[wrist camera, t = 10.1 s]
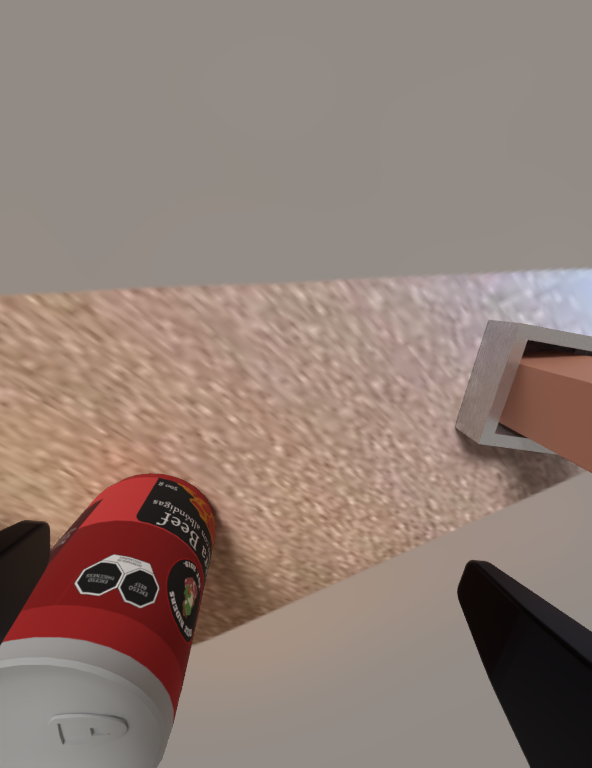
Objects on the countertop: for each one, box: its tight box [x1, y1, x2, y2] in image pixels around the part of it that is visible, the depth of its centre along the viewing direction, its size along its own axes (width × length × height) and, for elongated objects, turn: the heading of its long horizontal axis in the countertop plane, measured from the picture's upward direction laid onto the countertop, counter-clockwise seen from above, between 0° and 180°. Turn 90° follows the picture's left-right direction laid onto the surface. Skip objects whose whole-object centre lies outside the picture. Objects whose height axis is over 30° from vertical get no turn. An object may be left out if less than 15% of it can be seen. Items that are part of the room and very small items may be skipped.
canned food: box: [0, 473, 216, 768], centre depth 16 cm, size 8×8×11 cm
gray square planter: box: [455, 320, 592, 455], centre depth 19 cm, size 7×7×2 cm
